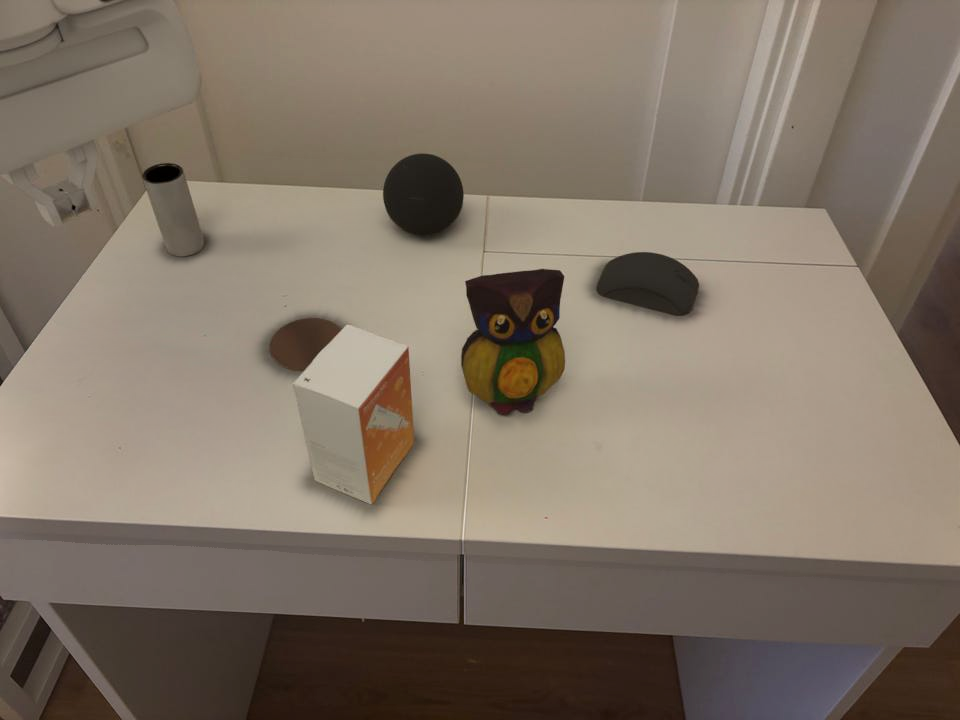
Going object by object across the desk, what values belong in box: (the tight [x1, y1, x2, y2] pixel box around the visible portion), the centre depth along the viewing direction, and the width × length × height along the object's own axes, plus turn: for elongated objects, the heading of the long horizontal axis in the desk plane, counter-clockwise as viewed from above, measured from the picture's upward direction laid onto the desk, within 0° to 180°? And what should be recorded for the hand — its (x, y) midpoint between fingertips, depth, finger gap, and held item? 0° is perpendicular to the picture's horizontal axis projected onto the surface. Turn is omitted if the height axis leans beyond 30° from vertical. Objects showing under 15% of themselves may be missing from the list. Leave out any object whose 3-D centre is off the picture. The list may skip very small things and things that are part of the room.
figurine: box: [460, 268, 566, 416], centre depth 70 cm, size 10×7×15 cm
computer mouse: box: [595, 251, 700, 317], centre depth 87 cm, size 6×11×4 cm, turn 68°
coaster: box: [269, 317, 342, 372], centre depth 81 cm, size 8×8×1 cm
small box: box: [292, 324, 415, 505], centre depth 65 cm, size 8×6×13 cm
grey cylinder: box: [141, 162, 205, 257], centre depth 89 cm, size 4×4×10 cm
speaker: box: [382, 152, 465, 237], centre depth 93 cm, size 10×10×10 cm
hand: (72, 214), depth 47 cm, fingers closed
